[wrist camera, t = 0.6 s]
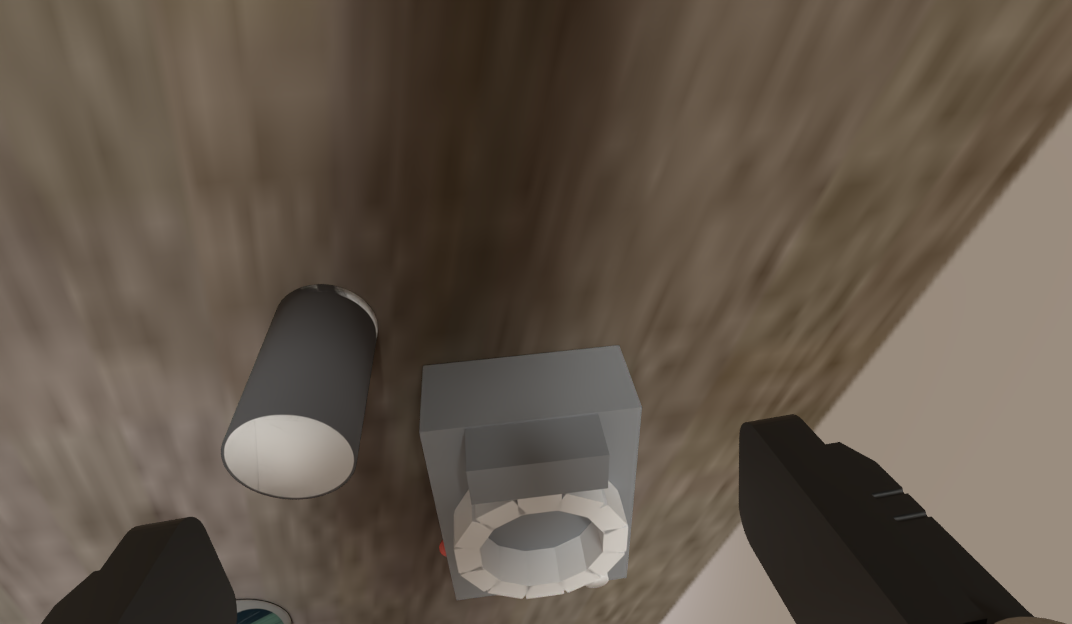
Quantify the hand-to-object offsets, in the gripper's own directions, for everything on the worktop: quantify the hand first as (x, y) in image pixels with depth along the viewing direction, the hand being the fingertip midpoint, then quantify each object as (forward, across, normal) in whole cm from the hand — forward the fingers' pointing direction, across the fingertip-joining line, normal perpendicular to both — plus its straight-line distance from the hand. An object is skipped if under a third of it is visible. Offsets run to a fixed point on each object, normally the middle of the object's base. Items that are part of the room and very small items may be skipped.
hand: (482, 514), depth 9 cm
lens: (+19, +8, +4) cm, 21 cm away
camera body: (+21, -1, +15) cm, 26 cm away
